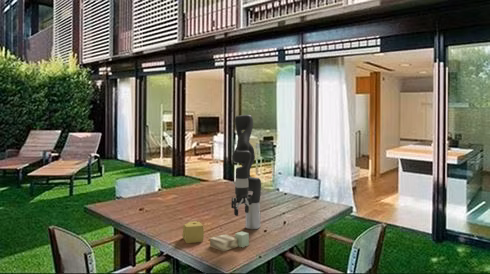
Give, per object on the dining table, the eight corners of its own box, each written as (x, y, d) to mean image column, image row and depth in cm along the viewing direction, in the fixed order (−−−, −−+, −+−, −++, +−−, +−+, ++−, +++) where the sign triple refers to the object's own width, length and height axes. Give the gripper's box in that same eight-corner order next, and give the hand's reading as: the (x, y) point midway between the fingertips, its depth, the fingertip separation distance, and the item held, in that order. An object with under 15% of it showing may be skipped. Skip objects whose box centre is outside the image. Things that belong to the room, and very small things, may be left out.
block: (241, 243, 225) (241, 231, 224) (248, 245, 221) (248, 233, 221) (235, 245, 221) (235, 233, 220) (242, 247, 217) (242, 235, 217)
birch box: (224, 242, 227) (224, 234, 226) (237, 247, 219) (237, 238, 218) (210, 246, 219) (210, 238, 218) (223, 252, 211) (223, 243, 211)
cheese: (182, 238, 232) (182, 222, 232) (199, 236, 236) (199, 220, 235) (185, 244, 223) (185, 226, 222) (204, 241, 226) (204, 225, 226)
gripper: (245, 183, 226) (245, 210, 227) (228, 186, 216) (228, 215, 217) (255, 185, 221) (254, 213, 222) (237, 188, 211) (237, 217, 212)
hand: (241, 214), depth 219 cm, fingers open, 8 cm apart
